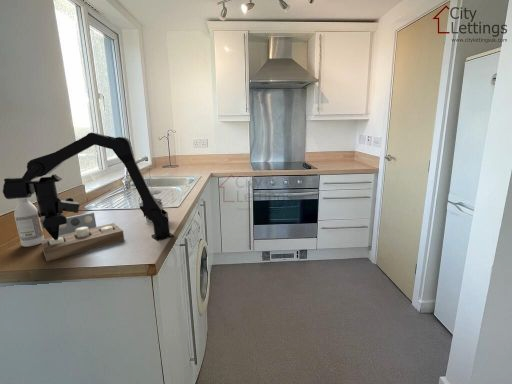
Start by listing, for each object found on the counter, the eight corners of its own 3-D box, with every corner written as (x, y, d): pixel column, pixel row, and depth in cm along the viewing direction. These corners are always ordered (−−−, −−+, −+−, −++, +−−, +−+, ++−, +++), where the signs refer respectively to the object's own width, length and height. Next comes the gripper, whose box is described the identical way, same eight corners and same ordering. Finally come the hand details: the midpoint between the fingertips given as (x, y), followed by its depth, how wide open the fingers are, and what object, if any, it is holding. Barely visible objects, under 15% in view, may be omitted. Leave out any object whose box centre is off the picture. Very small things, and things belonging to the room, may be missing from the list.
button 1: (66, 250, 96) (63, 239, 95) (52, 253, 94) (49, 242, 93) (64, 246, 99) (62, 236, 98) (50, 250, 97) (48, 239, 96)
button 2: (115, 237, 107) (113, 227, 106) (104, 240, 104) (102, 230, 103) (112, 234, 109) (110, 225, 109) (101, 237, 107) (99, 227, 106)
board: (124, 240, 105) (122, 230, 104) (46, 261, 90) (44, 250, 89) (115, 232, 114) (113, 223, 113) (42, 250, 98) (40, 239, 97)
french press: (159, 225, 120) (152, 168, 115) (135, 224, 123) (128, 168, 117) (170, 218, 130) (165, 165, 124) (148, 217, 132) (141, 165, 126)
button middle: (91, 238, 101) (89, 228, 100) (78, 242, 98) (76, 231, 97) (88, 235, 104) (86, 225, 103) (76, 238, 101) (74, 228, 100)
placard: (97, 231, 116) (94, 212, 114) (56, 240, 107) (52, 221, 105) (96, 230, 117) (93, 212, 115) (56, 239, 108) (52, 220, 106)
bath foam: (46, 242, 105) (35, 191, 101) (23, 248, 100) (10, 195, 96) (42, 238, 110) (31, 189, 105) (20, 243, 105) (7, 192, 100)
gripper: (80, 195, 90) (88, 240, 94) (70, 187, 104) (78, 226, 108) (37, 202, 83) (48, 250, 87) (33, 193, 97) (42, 234, 100)
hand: (56, 239), depth 96 cm, fingers closed, pressing on button 1
